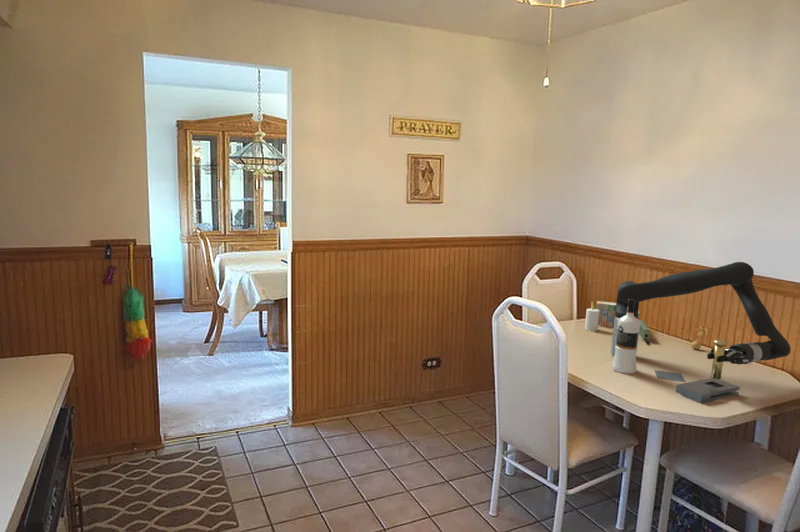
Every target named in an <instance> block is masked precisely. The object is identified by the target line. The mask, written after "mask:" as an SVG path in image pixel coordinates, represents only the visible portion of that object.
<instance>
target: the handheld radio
mask: <svg viewBox="0 0 800 532" xmlns="http://www.w3.org/2000/svg"><path fill="white" fill-rule="evenodd" d="M638 320H639V321H640V329H639V330H640V331H639V334H640V335H639V336H641V337H640V338H641V340H642V342H644V341H645V343H646V345H649V344H650V342H649V341H650V340H649V339H650V329H649V327H648V325H646V323H645V321H644V320H643V319H638Z"/></svg>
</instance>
